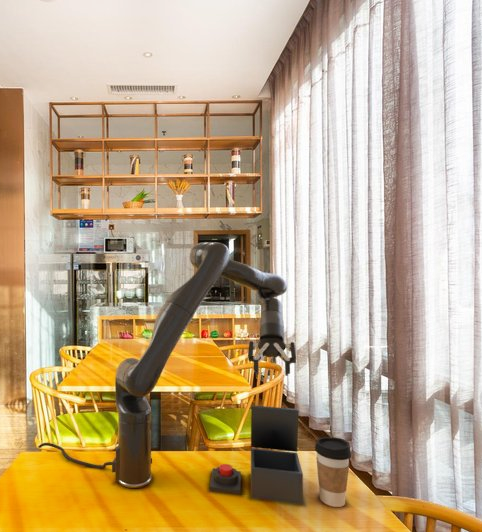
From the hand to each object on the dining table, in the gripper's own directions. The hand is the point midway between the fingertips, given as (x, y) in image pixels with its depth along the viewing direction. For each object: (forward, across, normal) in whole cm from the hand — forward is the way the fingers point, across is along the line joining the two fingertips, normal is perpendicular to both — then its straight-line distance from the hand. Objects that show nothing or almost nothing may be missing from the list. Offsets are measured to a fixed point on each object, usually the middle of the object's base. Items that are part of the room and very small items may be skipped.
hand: (271, 373), depth 120 cm
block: (+30, -13, +7) cm, 33 cm away
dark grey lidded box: (+29, 0, +8) cm, 30 cm away
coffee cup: (+30, +14, +8) cm, 35 cm away
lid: (+16, +1, +2) cm, 16 cm away
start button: (+28, -13, +5) cm, 31 cm away
